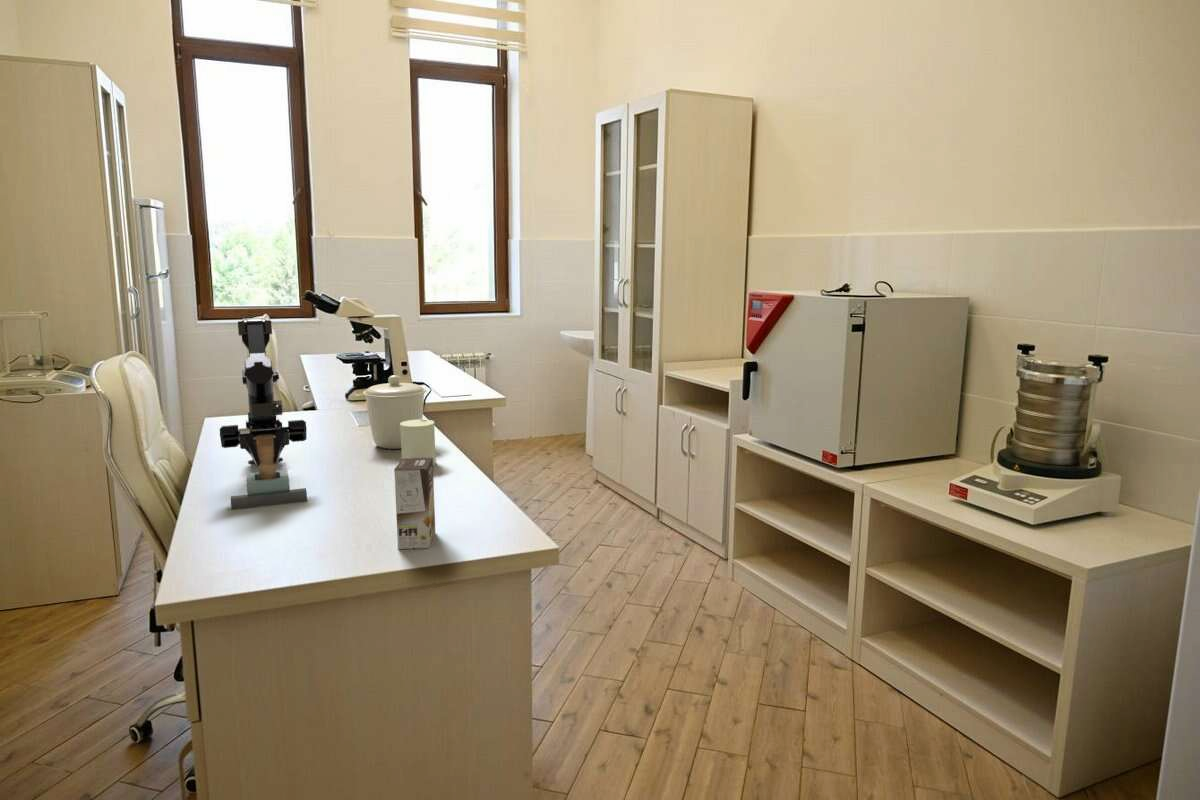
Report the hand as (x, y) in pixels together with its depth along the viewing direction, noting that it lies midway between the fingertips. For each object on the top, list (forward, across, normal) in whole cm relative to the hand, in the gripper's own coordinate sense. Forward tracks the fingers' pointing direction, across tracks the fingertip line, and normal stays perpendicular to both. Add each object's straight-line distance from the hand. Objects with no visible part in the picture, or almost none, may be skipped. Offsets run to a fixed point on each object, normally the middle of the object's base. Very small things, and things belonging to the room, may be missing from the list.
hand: (266, 464), depth 184 cm
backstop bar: (+9, 0, +3) cm, 9 cm away
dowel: (+4, 0, +6) cm, 7 cm away
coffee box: (+35, +26, -23) cm, 49 cm away
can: (-6, +38, +18) cm, 43 cm away
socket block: (+4, 0, +8) cm, 9 cm away
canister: (-23, +36, +36) cm, 56 cm away
